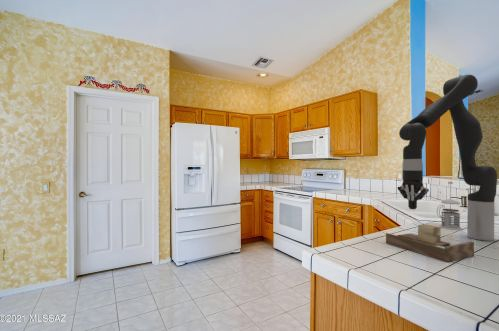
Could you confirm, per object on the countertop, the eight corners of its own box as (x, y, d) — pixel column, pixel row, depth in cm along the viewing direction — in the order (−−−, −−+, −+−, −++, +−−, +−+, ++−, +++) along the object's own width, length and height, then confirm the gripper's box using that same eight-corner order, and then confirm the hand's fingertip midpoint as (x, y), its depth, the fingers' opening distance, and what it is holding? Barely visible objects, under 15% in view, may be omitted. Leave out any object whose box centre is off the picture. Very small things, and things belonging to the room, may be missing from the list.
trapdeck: (410, 238, 117) (410, 227, 117) (474, 255, 95) (474, 242, 95) (385, 242, 110) (386, 231, 110) (447, 262, 88) (448, 247, 88)
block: (426, 238, 109) (426, 224, 109) (440, 241, 104) (440, 226, 104) (418, 239, 107) (418, 225, 107) (431, 243, 102) (431, 228, 102)
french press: (467, 230, 133) (467, 182, 134) (444, 229, 134) (444, 181, 134) (452, 225, 143) (452, 181, 143) (431, 225, 143) (431, 180, 144)
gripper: (433, 169, 108) (433, 210, 108) (403, 169, 120) (403, 206, 120) (422, 169, 105) (422, 212, 105) (392, 169, 117) (392, 207, 117)
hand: (412, 209), depth 112 cm, fingers closed
